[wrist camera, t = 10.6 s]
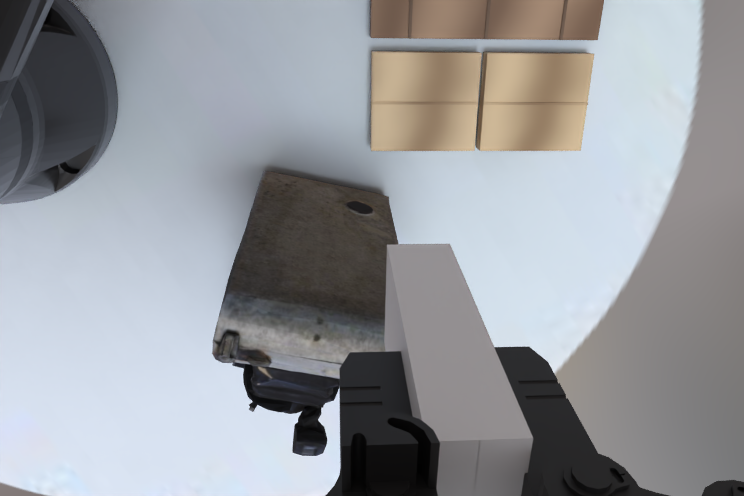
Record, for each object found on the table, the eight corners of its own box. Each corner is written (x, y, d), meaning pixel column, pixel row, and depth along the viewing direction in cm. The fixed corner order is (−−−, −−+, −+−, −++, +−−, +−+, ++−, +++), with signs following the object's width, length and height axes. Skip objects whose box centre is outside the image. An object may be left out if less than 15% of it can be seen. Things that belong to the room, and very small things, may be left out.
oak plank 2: (476, 147, 43) (480, 151, 42) (483, 52, 41) (487, 53, 40) (574, 146, 44) (581, 150, 42) (587, 52, 41) (594, 54, 40)
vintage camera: (230, 335, 50) (176, 553, 32) (260, 159, 43) (214, 312, 25) (344, 353, 51) (354, 570, 34) (391, 187, 45) (433, 348, 27)
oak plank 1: (370, 147, 43) (371, 151, 42) (371, 51, 40) (372, 52, 39) (470, 147, 43) (474, 151, 42) (477, 51, 41) (481, 53, 40)
